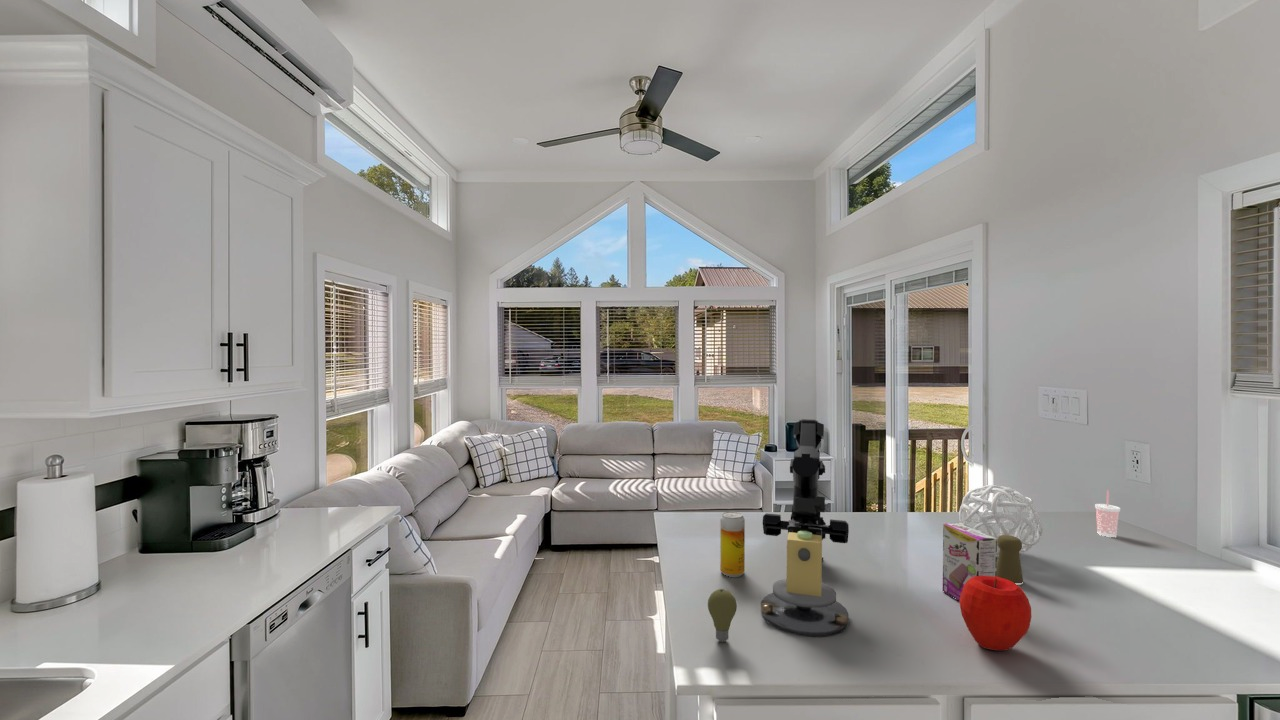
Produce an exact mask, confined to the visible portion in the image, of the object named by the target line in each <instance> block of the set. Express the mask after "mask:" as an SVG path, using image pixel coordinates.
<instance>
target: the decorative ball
mask: <svg viewBox="0 0 1280 720" xmlns="http://www.w3.org/2000/svg"><path fill="white" fill-rule="evenodd" d="M990 494H994V496H993V498H992V499H991V501H990V500H989V498H990ZM1001 496H1004V497H1005V498H1006V499H1007V501H1006V500H1002V498H1001ZM984 498H985V499H984ZM961 500H962V501H961V505H960V507H959V511H958V520H959V523H962V524H964V525H967V526H969V524H970V523H971V522H973V523H976V524H975V526H974V527H973V528H974V529H976V530H978V531H980V532H983V533H985V534H987V535H990V536H992V537H994V538H996V539H998V537H999V536H1001V535H1010V536H1014V537H1017V538H1019V539H1020V540H1021V542H1022V549H1021V550H1020V551H1019V554H1020V555H1021V554H1024V553H1026V552H1028V551H1029V550H1031V548H1032V547H1033V546H1035V545H1037V544H1038V543H1039V542H1040V540H1041V537H1042V536H1043V533H1044V527H1043V524H1042V522H1041V520H1040V516H1039V513H1038V512H1037V511H1036V510H1037V509H1035V508H1034V506H1033V505H1032V504H1033V502H1034V501H1033V500H1032V499H1031V498H1030V497H1028V496H1025V495H1024V494H1022V493H1021V492H1019V491H1018V490H1017V489H1015V488H1013V487H1008V486H1004V485H1002V486H1001V485H993V484H986V485H984V486H980V487H977V488H974V489H971V490H968V491H967V492H966V493H965V495H964V496H963V498H962V499H961ZM971 504H973V505H971ZM983 506H985V508H984V510H983V511H982V512H981V511H980V509H981V508H982V507H983ZM997 507H998V508H1001V510H1002V513H1003V514H1002V513H998V511H997ZM1009 507H1014V508H1015V510H1016V512H1015V513H1014V514H1013V513H1012V512H1011V511H1010V509H1008V508H1009ZM1024 509H1025V510H1026V511H1027V514H1028V516H1027V517H1025V516H1023V511H1024ZM988 512H991V513H992V514H987V513H988ZM975 514H976V515H977V516H978V519H977V518H975V517H974V516H975ZM986 514H987V515H986ZM993 519H994V520H993ZM1002 519H1007V520H1004V521H1002ZM989 520H992V521H989ZM1010 524H1011V525H1012V526H1011V528H1010V529H1009V528H1006V527H1005V526H1008V525H1010ZM1022 525H1023V526H1022ZM982 526H984V527H985V529H982ZM993 526H996V527H997V526H998V527H999V532H1000V533H999V532H996V530H995V529H994V528H993ZM1035 529H1036V530H1035ZM1014 532H1015V533H1014ZM1023 533H1024V534H1023ZM1013 534H1014V535H1013ZM1022 534H1023V536H1022ZM999 549H1000V548H999V547H998V545H997V555H996V556H997V557H998V555H999Z"/></svg>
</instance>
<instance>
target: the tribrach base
mask: <svg viewBox="0 0 1280 720" xmlns="http://www.w3.org/2000/svg"><path fill="white" fill-rule="evenodd" d="M760 614H761V616H762V618H763V619H764V620H765V621H766V622H767V623H768V624H769V625H771V626H773V627H774V628H776V629H778V630H780V631H783V632H786V633H789V634H794V635H795V636H798V635H799V636H802V637H813V638H822V637H823V638H824V637H831V636H835V635H836V636H837V635H839V634H840V633H843V632H844V631H846V630H847V628H848V627H849V620H850V619H849V617H850V616H849V615H850V614H849V611H848V610H847V609H846V607H845V606H844V605H843V604H841V603H840V602H839V601H838V600H836V602H835V603H834V604H832V605H830V606H826V607H817V608H813V607H802V606H797V605H793V604H789V603H786V602H784V601H782V600H780V599H778V598H777V597H776V596H775V595H774V594H773V592H770V593H768V594H767V595H765V596H764V597H762V599H761V601H760Z"/></svg>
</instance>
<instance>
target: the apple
mask: <svg viewBox="0 0 1280 720" xmlns="http://www.w3.org/2000/svg"><path fill="white" fill-rule="evenodd" d="M1025 593H1026V592H1024V590H1023V588H1022V587H1020V585H1016V584H1015V583H1013V582H1012V581H1009V580H1007V579H1004V578H1000V577H994V576H975V577H971V578H970V579H969V580H968V581H967V582H966V583H965V585H964V587H963V589H962V592H961V595H960V601H958V603H959V608H960V613H961V616H962V619H963V621H964V623H965V625H966V628H967V630H968V631H969V633H970V635H971V637H972V638H973V639H974V640H975V642H976V643H977V644H978V645H979V646H981V647H983V649H986V650H987V649H988V650H992V651H1008V650H1010V649H1012V648H1013V647H1015V646H1016V645H1017V644H1018V643H1019V642H1020V640H1022V639H1023V638H1024V637H1025V636H1026V634H1027V632H1028V630H1029V629H1030V626H1031V621H1032V606H1031V604H1030V600H1029V599H1028V596H1027V595H1026V594H1025Z"/></svg>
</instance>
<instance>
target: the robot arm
mask: <svg viewBox="0 0 1280 720" xmlns="http://www.w3.org/2000/svg"><path fill="white" fill-rule="evenodd" d="M824 437H825V424H824V423H822V422H819V421H818V420H816V419H814V418H813V419H809V418H807V419H806V418H801V419H799V421H796V422H793V438H794V439H795V441H796V447H797V449H796V450H794V453H793V458H791V459H790V464H789V473H790V474H792V478H793V479H792V480H793V498H792V506H791V514H790V519H789V520H788V521H787V520H782V517H781V516H782V515H781V514H779V513H778V514H777V513H767V512H765V513H764V515H762V528H763V534H764V535H766V536H772V537H778V536H780V535H781V534H782V530H783V531H785V530H786V531H787V534H788V533H789V532H792V533H798V531H808V532H811V533H812V535H822V541H823V540H824V539H826V535H829V539H830V541H832V543H839V544H847V543H848V541H849V534H850V533H849V532H850V531H849V530H850V529H849V528H850V527H849V522H847V520H840V519H829V524H826V522H825V520H824V517H822V516H821V513H825V512H826V511H825V509H826V497H825V496H819V480H820V476H823V474H826V465H825V464H824V462H823V460H821V459H820V456H821V455H820V452H819V450H820V449H821V448H822V440H824V439H825V438H824ZM822 561H824V557H822Z"/></svg>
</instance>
